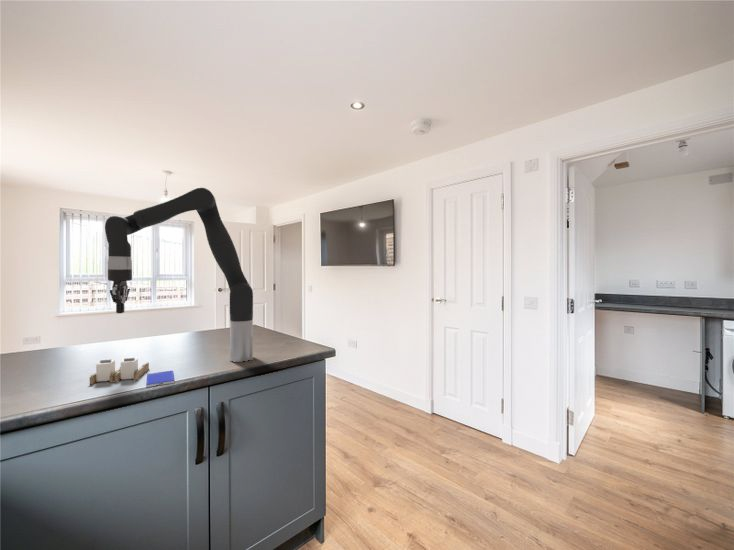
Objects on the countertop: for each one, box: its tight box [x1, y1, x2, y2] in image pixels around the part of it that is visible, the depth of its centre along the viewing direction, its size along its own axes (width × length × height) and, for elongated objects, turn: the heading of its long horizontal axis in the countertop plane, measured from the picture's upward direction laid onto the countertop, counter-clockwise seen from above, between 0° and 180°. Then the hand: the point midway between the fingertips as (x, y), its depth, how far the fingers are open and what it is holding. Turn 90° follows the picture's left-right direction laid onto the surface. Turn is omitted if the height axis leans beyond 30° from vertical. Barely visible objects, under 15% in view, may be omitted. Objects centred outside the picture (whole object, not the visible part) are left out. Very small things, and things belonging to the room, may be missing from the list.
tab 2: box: [120, 357, 139, 381], centre depth 116 cm, size 4×4×7 cm
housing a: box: [114, 362, 150, 383], centre depth 119 cm, size 6×14×3 cm, turn 19°
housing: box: [89, 366, 121, 385], centre depth 117 cm, size 6×14×3 cm, turn 19°
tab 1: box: [95, 359, 116, 383], centre depth 114 cm, size 4×4×7 cm
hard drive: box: [145, 370, 175, 388], centre depth 115 cm, size 2×8×12 cm
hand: (120, 313), depth 126 cm, fingers closed
